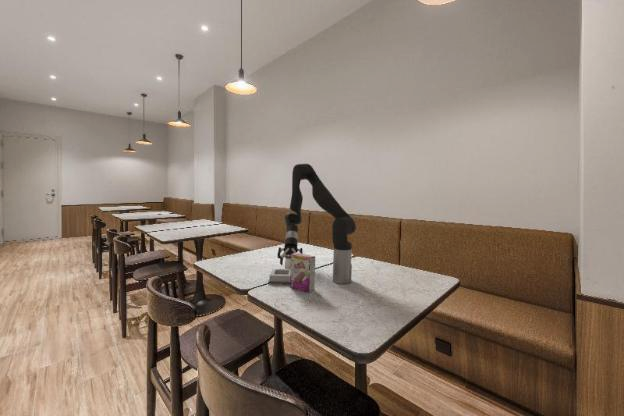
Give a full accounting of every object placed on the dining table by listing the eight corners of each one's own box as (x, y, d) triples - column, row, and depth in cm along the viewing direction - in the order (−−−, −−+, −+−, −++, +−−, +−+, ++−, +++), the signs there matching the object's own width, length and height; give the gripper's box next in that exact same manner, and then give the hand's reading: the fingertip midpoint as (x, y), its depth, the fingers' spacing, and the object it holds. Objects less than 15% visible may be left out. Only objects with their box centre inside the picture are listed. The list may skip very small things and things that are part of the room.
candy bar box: (289, 287, 129) (290, 254, 127) (295, 284, 133) (296, 252, 132) (309, 293, 123) (310, 258, 121) (314, 289, 127) (315, 255, 126)
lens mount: (294, 276, 145) (294, 268, 144) (292, 284, 133) (292, 276, 132) (271, 275, 145) (271, 268, 144) (268, 284, 133) (268, 275, 132)
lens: (294, 271, 153) (294, 254, 153) (293, 274, 148) (294, 256, 147) (285, 271, 153) (285, 253, 153) (284, 274, 148) (284, 256, 147)
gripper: (278, 236, 157) (276, 261, 146) (303, 237, 157) (302, 261, 146) (279, 243, 162) (277, 267, 152) (303, 244, 162) (302, 268, 152)
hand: (289, 264), depth 149 cm, fingers open, 8 cm apart
